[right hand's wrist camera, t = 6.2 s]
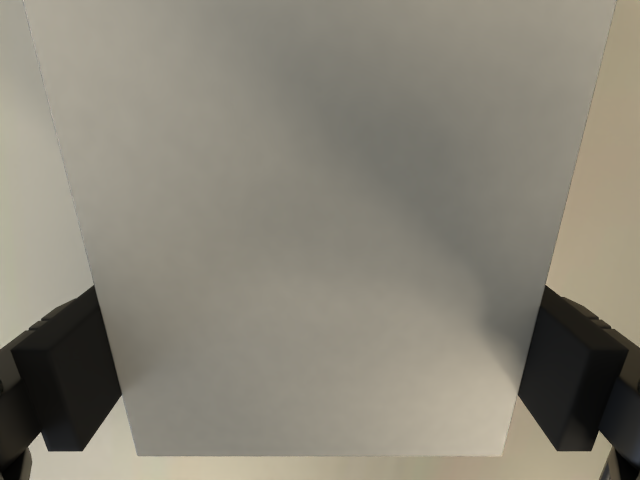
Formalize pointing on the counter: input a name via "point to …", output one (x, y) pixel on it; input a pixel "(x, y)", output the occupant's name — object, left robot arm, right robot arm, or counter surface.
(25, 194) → the counter surface
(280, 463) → the counter surface
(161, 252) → the cabinet
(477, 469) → the counter surface
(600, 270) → the counter surface
